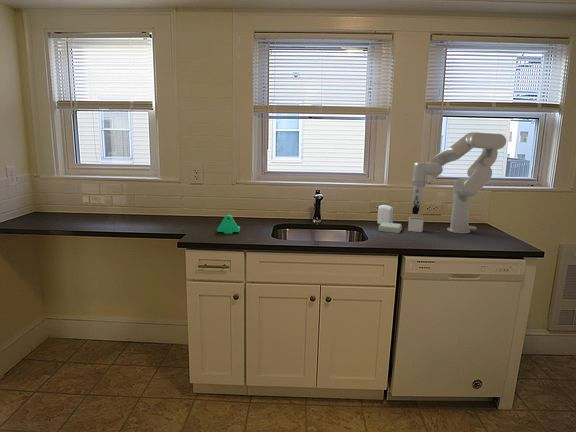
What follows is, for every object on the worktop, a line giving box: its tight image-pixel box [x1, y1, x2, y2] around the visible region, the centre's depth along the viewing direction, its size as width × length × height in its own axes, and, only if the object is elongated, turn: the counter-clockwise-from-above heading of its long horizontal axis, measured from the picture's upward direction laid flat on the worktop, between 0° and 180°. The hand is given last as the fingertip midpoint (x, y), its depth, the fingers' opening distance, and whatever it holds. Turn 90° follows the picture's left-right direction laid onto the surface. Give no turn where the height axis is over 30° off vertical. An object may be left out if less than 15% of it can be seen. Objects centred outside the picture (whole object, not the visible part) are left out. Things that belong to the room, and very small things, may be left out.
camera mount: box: [216, 214, 241, 234], centre depth 229 cm, size 12×8×10 cm, turn 92°
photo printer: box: [377, 204, 394, 225], centre depth 255 cm, size 10×4×12 cm, turn 39°
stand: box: [378, 222, 403, 234], centre depth 241 cm, size 12×12×3 cm
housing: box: [407, 215, 425, 233], centre depth 240 cm, size 8×5×8 cm, turn 69°
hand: (415, 212), depth 239 cm, fingers open, 9 cm apart
